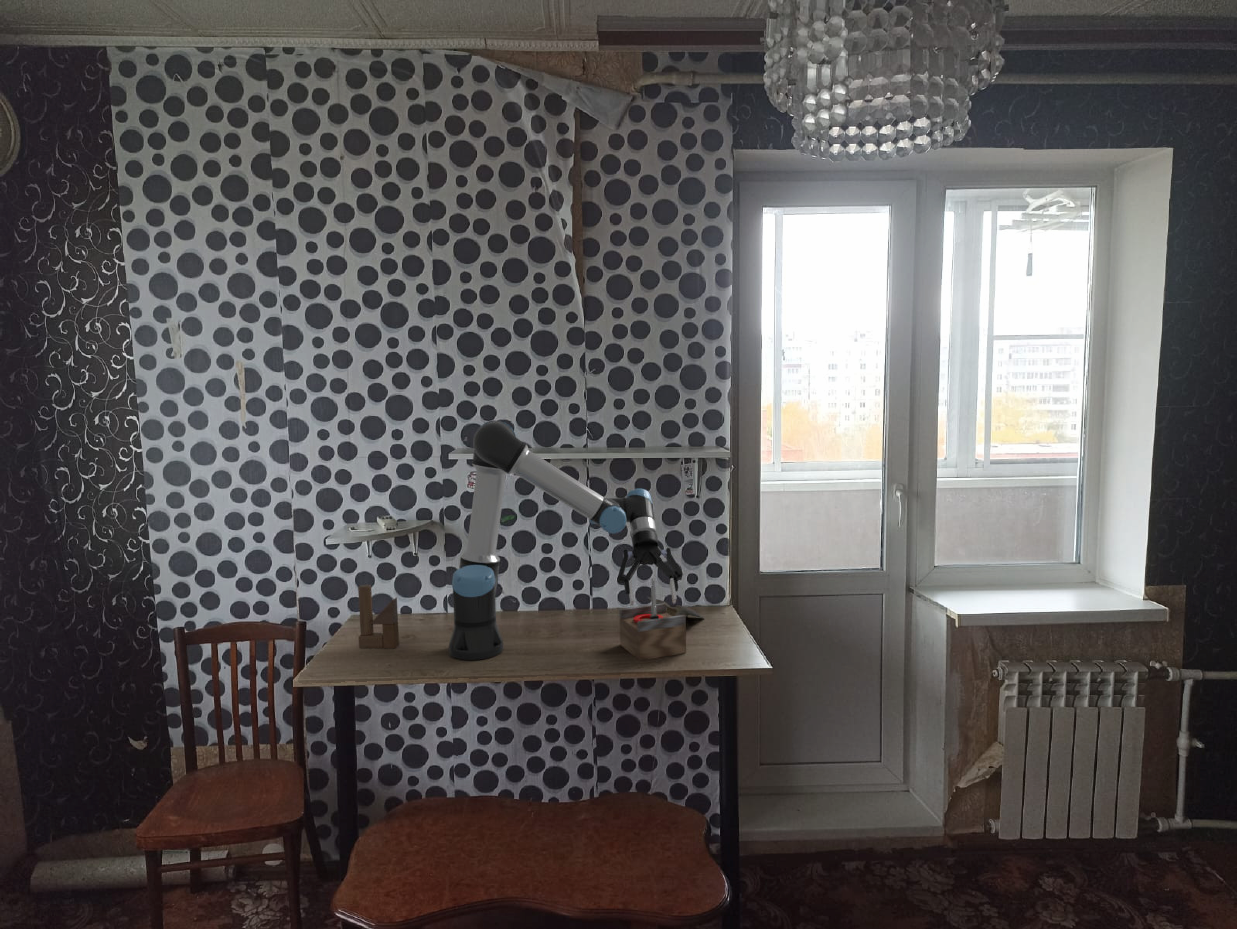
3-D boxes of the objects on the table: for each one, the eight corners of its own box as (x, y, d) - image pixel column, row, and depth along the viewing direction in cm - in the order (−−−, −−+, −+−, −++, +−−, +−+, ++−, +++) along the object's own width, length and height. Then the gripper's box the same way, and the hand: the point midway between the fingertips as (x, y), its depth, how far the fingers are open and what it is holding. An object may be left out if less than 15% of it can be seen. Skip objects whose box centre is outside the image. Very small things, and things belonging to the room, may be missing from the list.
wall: (647, 629, 252) (637, 609, 240) (657, 605, 256) (647, 584, 244) (695, 644, 245) (687, 624, 233) (705, 619, 249) (697, 598, 237)
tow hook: (629, 620, 224) (641, 627, 215) (628, 575, 223) (639, 581, 214) (656, 616, 226) (669, 624, 218) (655, 572, 226) (668, 578, 217)
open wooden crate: (639, 660, 213) (639, 622, 212) (620, 644, 226) (619, 609, 224) (686, 653, 218) (685, 616, 217) (664, 638, 231) (664, 603, 230)
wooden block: (395, 648, 226) (392, 587, 224) (358, 648, 227) (355, 587, 225) (399, 644, 229) (396, 584, 228) (363, 644, 230) (360, 584, 228)
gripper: (682, 541, 235) (693, 606, 222) (603, 545, 233) (610, 610, 219) (685, 527, 230) (697, 593, 216) (605, 530, 227) (611, 597, 213)
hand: (653, 602), depth 217 cm, fingers open, 11 cm apart
